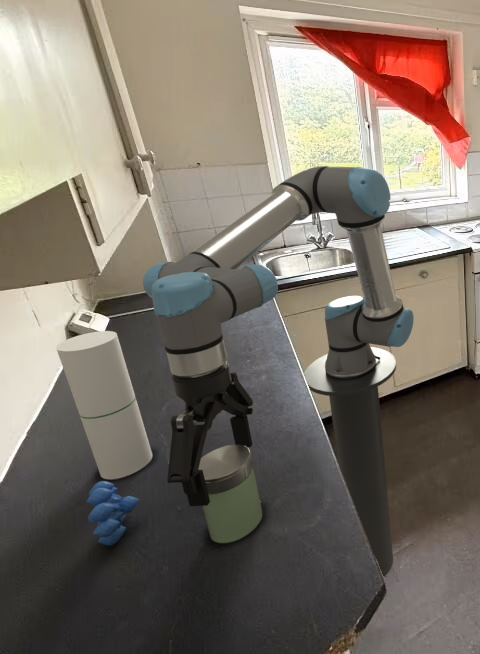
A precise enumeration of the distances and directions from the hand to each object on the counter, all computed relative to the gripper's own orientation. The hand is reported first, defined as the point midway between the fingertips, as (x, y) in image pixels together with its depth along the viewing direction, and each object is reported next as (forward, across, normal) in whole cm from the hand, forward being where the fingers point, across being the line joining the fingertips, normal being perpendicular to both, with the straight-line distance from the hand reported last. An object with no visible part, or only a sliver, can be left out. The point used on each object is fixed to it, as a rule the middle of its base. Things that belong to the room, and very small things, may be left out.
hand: (224, 472), depth 75 cm
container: (+12, -17, -31) cm, 38 cm away
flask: (+12, 0, 0) cm, 12 cm away
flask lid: (-2, 0, 0) cm, 2 cm away
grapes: (+12, +1, -19) cm, 22 cm away
